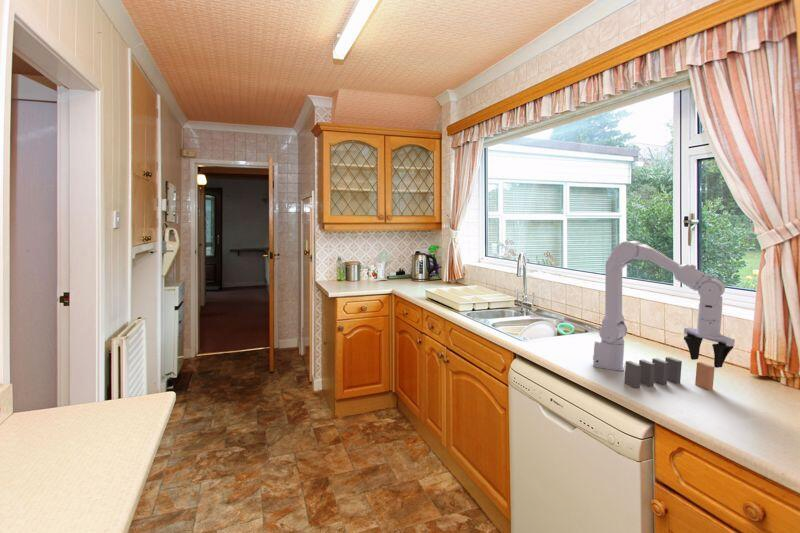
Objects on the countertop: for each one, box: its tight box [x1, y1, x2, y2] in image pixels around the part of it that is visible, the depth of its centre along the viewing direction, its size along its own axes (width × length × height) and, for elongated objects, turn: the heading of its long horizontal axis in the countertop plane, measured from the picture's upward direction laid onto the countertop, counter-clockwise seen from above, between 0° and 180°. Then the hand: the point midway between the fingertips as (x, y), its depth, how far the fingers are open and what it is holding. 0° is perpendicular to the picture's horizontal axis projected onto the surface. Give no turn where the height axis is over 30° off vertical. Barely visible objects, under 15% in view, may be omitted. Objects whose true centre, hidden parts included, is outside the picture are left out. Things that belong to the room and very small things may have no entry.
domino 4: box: [664, 356, 683, 384], centre depth 138 cm, size 2×4×7 cm, turn 16°
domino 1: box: [623, 360, 641, 389], centre depth 134 cm, size 2×4×7 cm, turn 16°
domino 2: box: [638, 359, 655, 387], centre depth 135 cm, size 2×4×7 cm, turn 16°
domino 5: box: [694, 361, 716, 391], centre depth 133 cm, size 2×4×7 cm, turn 16°
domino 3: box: [651, 357, 668, 386], centre depth 137 cm, size 2×4×7 cm, turn 16°
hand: (705, 363), depth 133 cm, fingers open, 7 cm apart
